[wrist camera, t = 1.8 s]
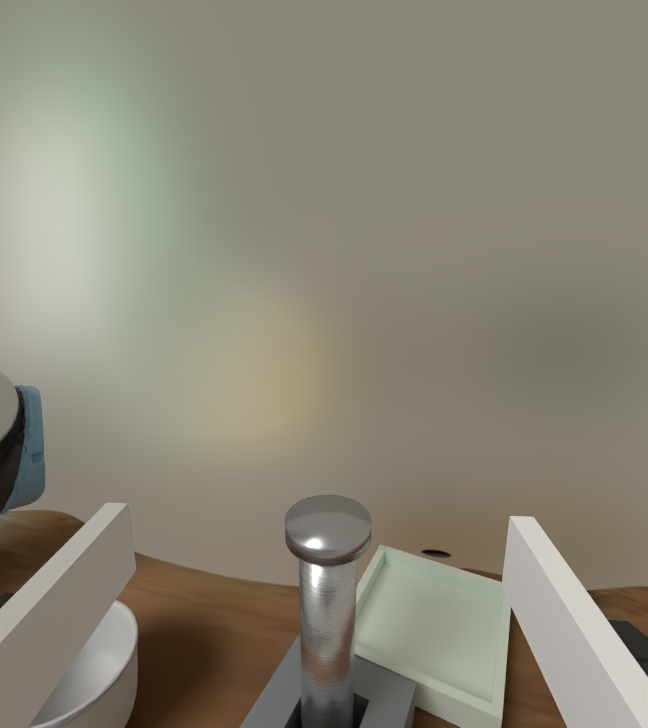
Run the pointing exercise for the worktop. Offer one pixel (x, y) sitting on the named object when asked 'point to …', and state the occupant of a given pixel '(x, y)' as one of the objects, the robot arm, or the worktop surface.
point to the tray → (436, 634)
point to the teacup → (98, 678)
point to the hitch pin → (327, 602)
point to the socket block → (370, 706)
